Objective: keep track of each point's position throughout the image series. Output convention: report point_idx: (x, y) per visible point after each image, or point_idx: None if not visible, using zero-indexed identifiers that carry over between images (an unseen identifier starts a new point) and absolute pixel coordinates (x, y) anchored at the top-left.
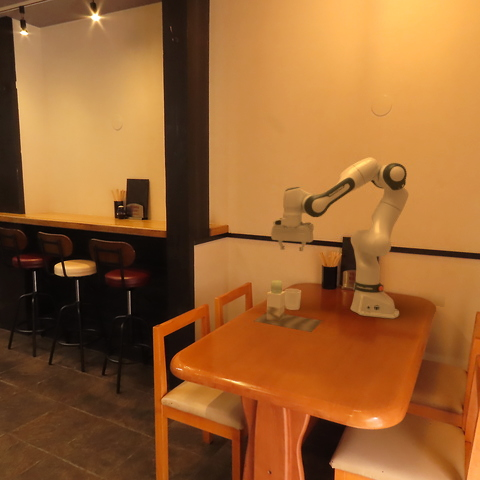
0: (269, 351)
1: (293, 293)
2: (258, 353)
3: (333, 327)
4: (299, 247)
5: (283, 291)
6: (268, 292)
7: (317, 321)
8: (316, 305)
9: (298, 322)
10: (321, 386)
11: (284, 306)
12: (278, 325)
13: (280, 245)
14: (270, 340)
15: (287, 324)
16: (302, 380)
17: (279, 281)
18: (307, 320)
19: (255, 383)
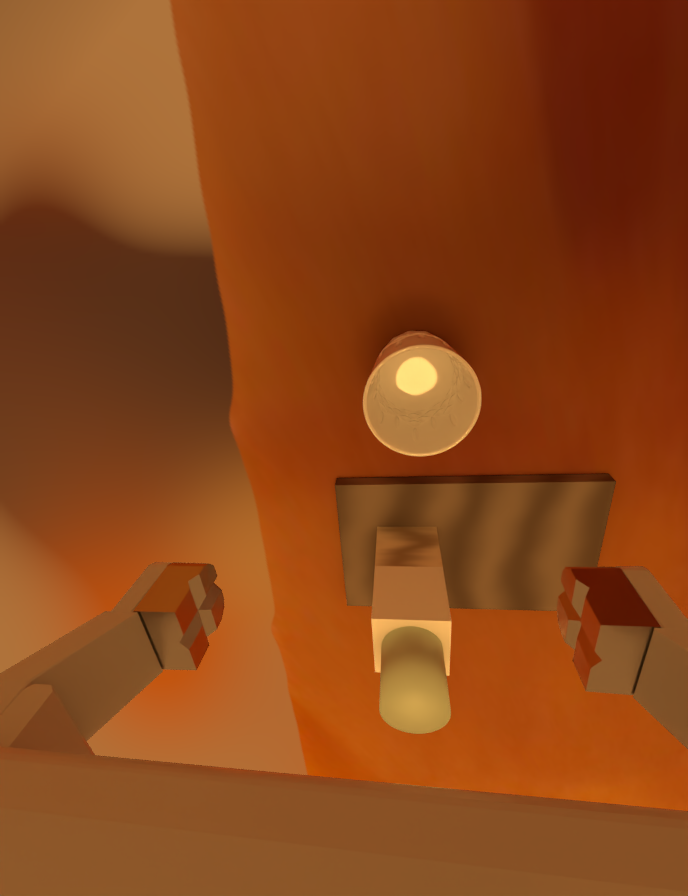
0: (487, 726)
1: (442, 449)
2: (465, 741)
3: (666, 489)
4: (588, 686)
5: (441, 622)
6: (377, 665)
7: (593, 501)
8: (519, 165)
9: (512, 548)
10: (653, 807)
11: (441, 562)
12: (449, 605)
13: (129, 681)
14: (461, 675)
15: (477, 584)
16: (607, 800)
17: (433, 711)
18: (544, 511)
19: None
